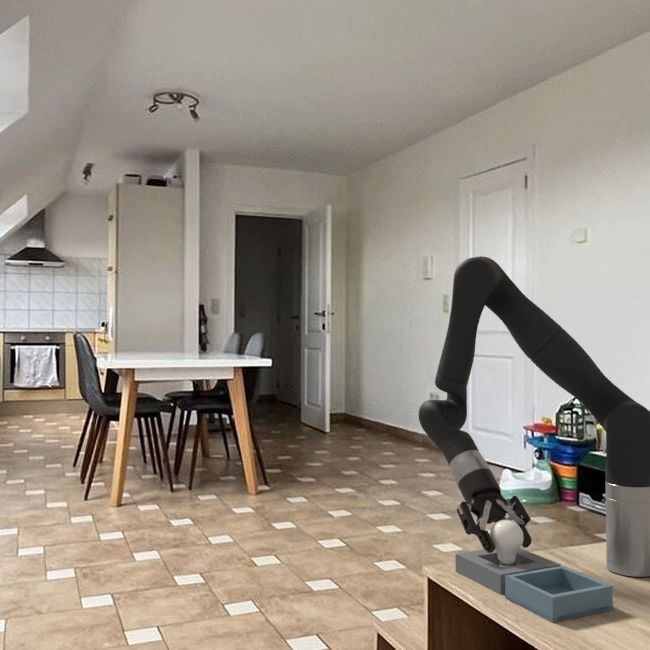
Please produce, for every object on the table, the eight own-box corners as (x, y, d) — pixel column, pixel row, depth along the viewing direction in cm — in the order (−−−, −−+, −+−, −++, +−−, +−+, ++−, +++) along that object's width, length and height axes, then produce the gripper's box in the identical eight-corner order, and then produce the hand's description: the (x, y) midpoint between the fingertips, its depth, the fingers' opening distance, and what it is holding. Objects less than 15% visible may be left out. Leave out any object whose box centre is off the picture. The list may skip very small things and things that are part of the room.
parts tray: (562, 587, 132) (562, 565, 133) (612, 609, 122) (612, 586, 122) (505, 598, 127) (505, 575, 127) (552, 622, 116) (552, 597, 116)
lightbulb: (525, 583, 135) (524, 524, 135) (490, 581, 136) (489, 523, 136) (522, 572, 141) (522, 516, 141) (489, 571, 142) (489, 515, 142)
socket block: (512, 562, 148) (512, 545, 148) (560, 583, 135) (560, 564, 135) (455, 571, 142) (455, 553, 142) (500, 594, 129) (500, 574, 129)
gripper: (452, 469, 143) (488, 542, 132) (510, 464, 149) (549, 533, 138) (437, 491, 148) (471, 563, 137) (494, 485, 153) (530, 553, 143)
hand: (510, 548), depth 137 cm, fingers open, 8 cm apart
